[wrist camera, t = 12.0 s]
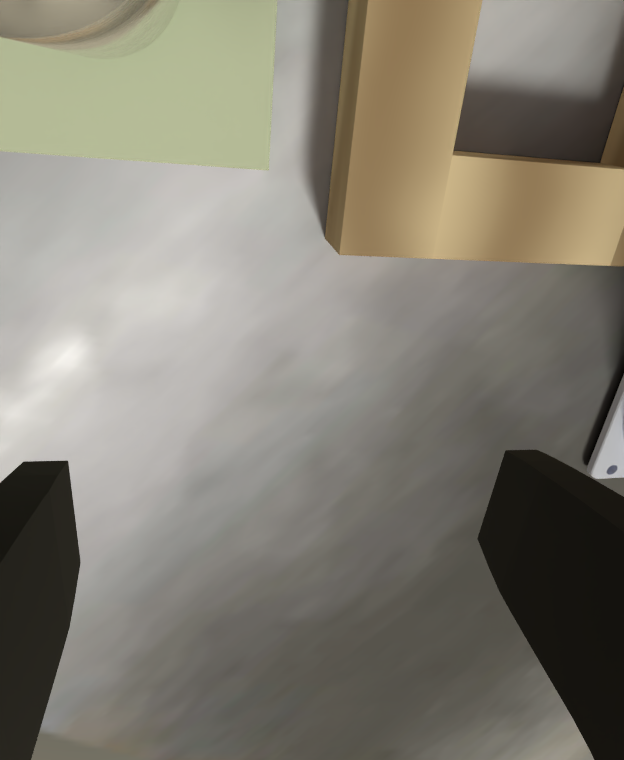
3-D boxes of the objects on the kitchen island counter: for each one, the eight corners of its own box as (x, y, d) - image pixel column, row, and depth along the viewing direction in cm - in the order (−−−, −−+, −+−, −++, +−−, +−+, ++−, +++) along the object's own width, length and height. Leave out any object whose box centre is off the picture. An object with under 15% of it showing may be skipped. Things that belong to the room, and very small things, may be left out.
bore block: (806, -192, 15) (889, -230, 13) (642, 253, 20) (684, 268, 18) (379, -307, 12) (410, -373, 10) (324, 238, 18) (339, 254, 16)
